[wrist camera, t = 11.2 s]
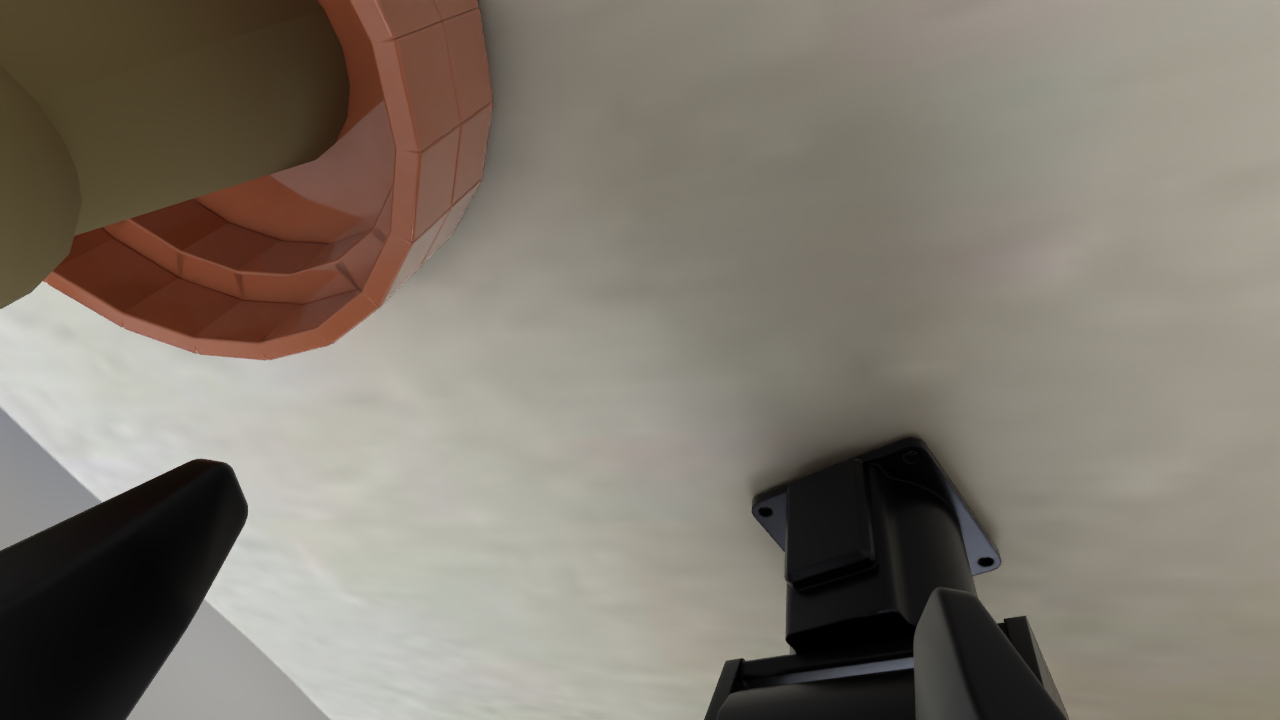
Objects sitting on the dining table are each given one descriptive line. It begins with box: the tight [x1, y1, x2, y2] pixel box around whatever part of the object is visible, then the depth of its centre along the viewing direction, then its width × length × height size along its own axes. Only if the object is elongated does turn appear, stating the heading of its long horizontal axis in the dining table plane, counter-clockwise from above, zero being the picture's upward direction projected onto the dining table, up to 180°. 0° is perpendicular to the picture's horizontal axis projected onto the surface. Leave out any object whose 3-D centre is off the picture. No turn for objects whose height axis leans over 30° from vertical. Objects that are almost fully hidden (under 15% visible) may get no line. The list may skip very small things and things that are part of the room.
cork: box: [0, 0, 350, 309], centre depth 15 cm, size 6×6×11 cm
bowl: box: [43, 0, 493, 360], centre depth 17 cm, size 14×14×5 cm
